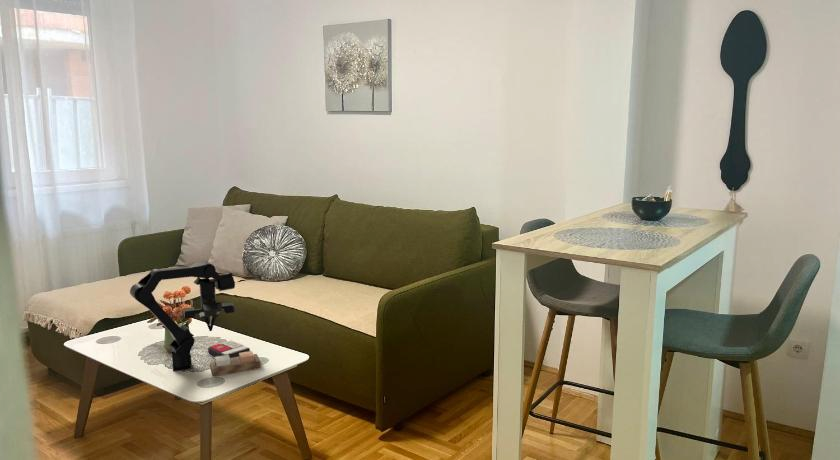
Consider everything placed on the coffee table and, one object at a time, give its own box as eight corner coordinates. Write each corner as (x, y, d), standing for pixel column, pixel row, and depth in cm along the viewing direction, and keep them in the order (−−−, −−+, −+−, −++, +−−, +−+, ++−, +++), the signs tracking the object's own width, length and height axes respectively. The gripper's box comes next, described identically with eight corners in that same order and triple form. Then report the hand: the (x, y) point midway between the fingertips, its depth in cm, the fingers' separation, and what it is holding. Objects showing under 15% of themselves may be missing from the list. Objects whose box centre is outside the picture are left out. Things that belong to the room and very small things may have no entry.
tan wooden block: (241, 367, 239) (240, 357, 239) (239, 362, 244) (238, 353, 243) (254, 365, 242) (254, 355, 241) (252, 360, 246) (251, 351, 245)
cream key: (217, 371, 236) (216, 361, 235) (215, 366, 240) (215, 356, 240) (230, 369, 238) (230, 359, 237) (229, 364, 242) (228, 354, 242)
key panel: (212, 376, 234) (211, 369, 233) (210, 368, 241) (209, 361, 240) (260, 368, 241) (260, 360, 241) (257, 360, 248) (256, 353, 248)
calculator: (231, 339, 263) (250, 346, 253) (232, 348, 264) (250, 356, 253) (207, 346, 255) (225, 353, 245) (208, 356, 256) (226, 364, 246)
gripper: (184, 301, 234) (187, 341, 237) (235, 295, 242) (237, 333, 245) (182, 294, 244) (185, 331, 247) (231, 288, 252) (233, 325, 255)
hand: (210, 330), depth 248 cm, fingers closed
